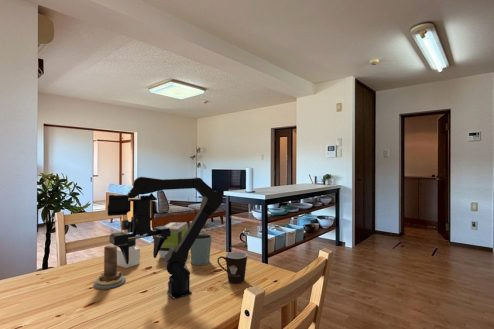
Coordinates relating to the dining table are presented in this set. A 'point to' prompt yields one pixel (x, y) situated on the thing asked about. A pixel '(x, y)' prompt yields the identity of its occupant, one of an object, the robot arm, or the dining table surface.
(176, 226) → the tea box
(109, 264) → the gear spindle
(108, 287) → the plate
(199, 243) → the drinking glass
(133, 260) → the medicine bottle
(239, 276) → the coffee mug
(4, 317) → the dining table surface
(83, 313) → the dining table surface
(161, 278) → the dining table surface
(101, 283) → the hub
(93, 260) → the dining table surface
